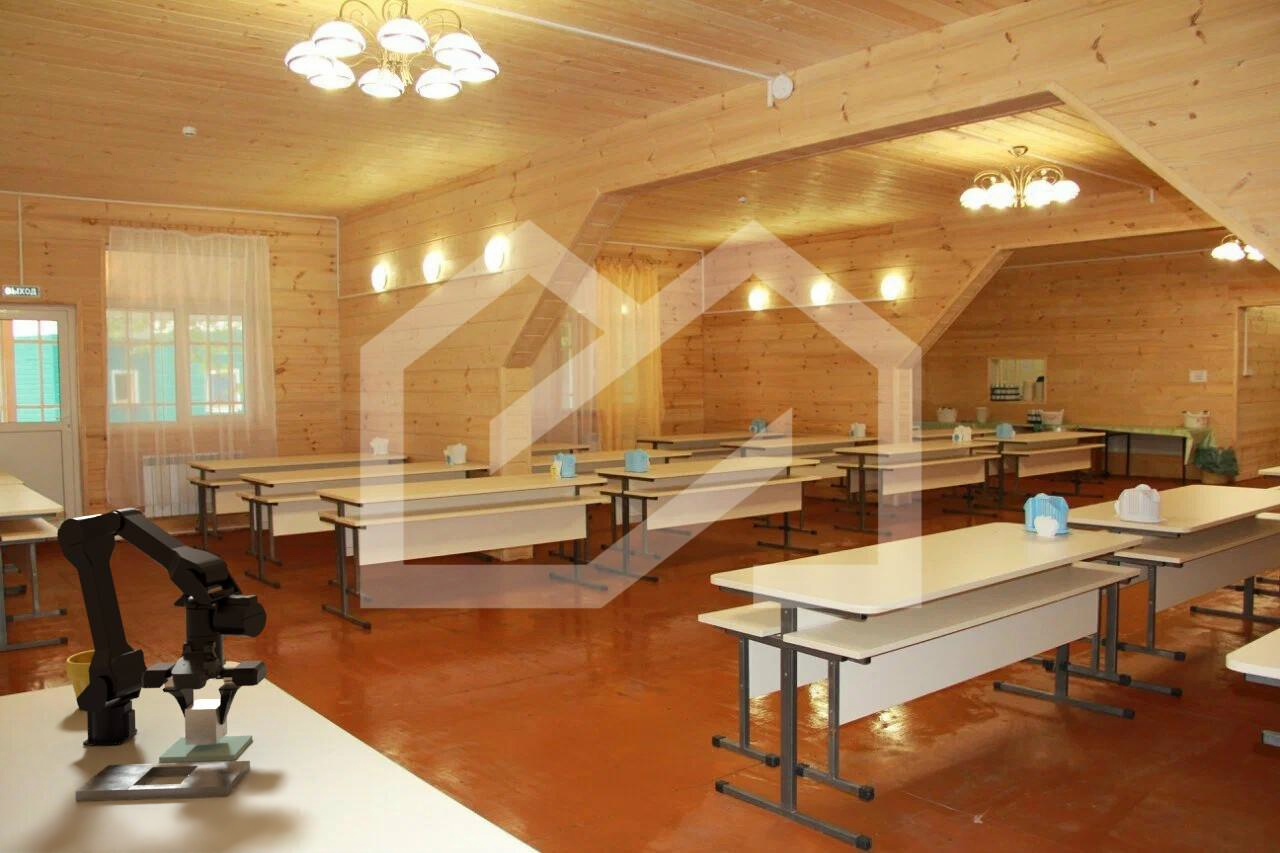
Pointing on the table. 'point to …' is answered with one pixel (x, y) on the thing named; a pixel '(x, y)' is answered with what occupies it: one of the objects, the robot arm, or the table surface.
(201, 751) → the teal pad
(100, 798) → the grey flat plate
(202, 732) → the pale wooden block
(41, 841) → the table surface
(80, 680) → the plant pot
